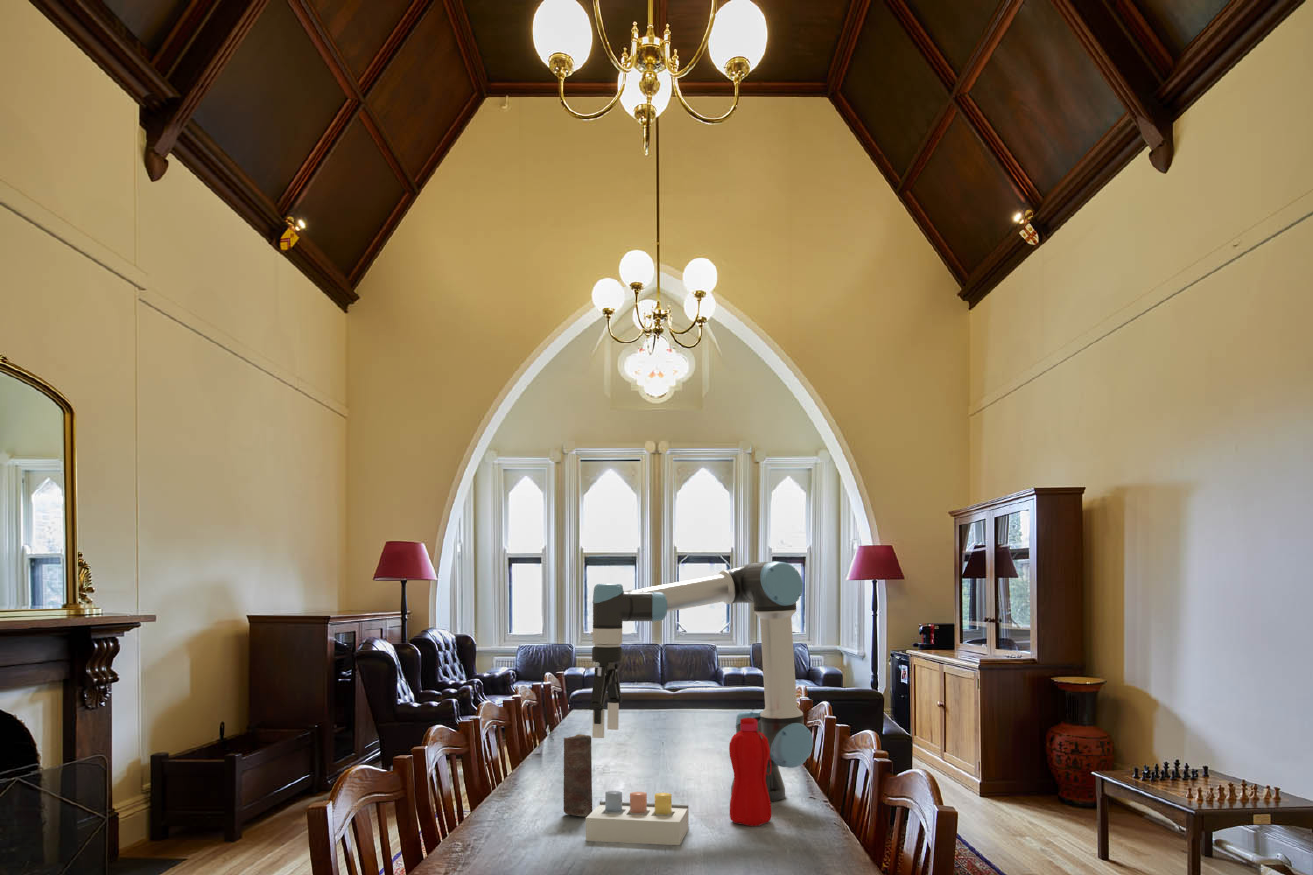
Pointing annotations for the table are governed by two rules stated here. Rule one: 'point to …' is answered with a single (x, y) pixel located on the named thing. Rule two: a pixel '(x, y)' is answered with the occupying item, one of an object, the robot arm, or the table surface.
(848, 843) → the table surface
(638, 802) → the button terracotta
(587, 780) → the brown rounded bar
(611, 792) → the button slate
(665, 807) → the button mustard
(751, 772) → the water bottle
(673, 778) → the table surface
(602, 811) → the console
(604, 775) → the table surface
